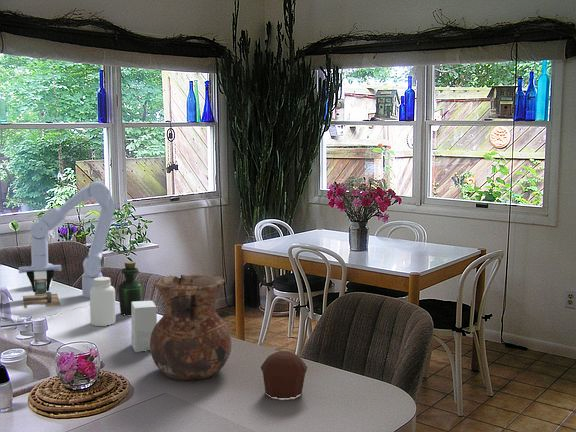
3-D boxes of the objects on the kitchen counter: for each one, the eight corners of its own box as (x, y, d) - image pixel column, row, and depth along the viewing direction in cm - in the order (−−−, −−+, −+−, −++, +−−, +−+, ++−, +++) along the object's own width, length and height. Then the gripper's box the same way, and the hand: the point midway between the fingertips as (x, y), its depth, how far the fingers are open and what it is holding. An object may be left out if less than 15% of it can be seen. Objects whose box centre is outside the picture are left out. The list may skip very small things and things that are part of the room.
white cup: (46, 292, 261) (45, 267, 260) (27, 291, 262) (27, 266, 261) (56, 288, 268) (56, 263, 267) (39, 287, 270) (38, 262, 269)
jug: (142, 363, 183) (142, 272, 180) (216, 354, 191) (217, 268, 188) (160, 392, 162) (160, 290, 160) (242, 381, 171) (244, 284, 168)
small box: (157, 350, 193) (157, 306, 192) (134, 352, 191) (134, 308, 190) (152, 342, 201) (152, 299, 200) (131, 344, 199) (130, 301, 197)
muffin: (313, 400, 159) (314, 359, 158) (267, 405, 156) (268, 363, 155) (298, 382, 170) (298, 344, 169) (255, 386, 167) (256, 347, 166)
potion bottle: (113, 313, 233) (113, 261, 231) (134, 309, 238) (134, 259, 236) (125, 318, 227) (125, 265, 225) (146, 314, 232) (146, 262, 230)
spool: (49, 294, 247) (49, 279, 246) (40, 296, 243) (39, 281, 243) (41, 292, 249) (41, 278, 248) (32, 294, 245) (31, 280, 245)
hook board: (61, 309, 236) (60, 295, 236) (23, 312, 232) (23, 298, 231) (57, 297, 254) (56, 284, 253) (22, 299, 249) (22, 286, 248)
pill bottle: (85, 325, 218) (84, 279, 216) (100, 319, 225) (100, 275, 224) (105, 328, 215) (104, 282, 213) (120, 321, 222) (120, 277, 221)
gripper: (59, 251, 251) (60, 287, 252) (18, 253, 245) (19, 290, 247) (61, 254, 244) (62, 291, 246) (18, 257, 239) (19, 294, 240)
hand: (40, 291), depth 246 cm, fingers closed on spool, 4 cm apart
